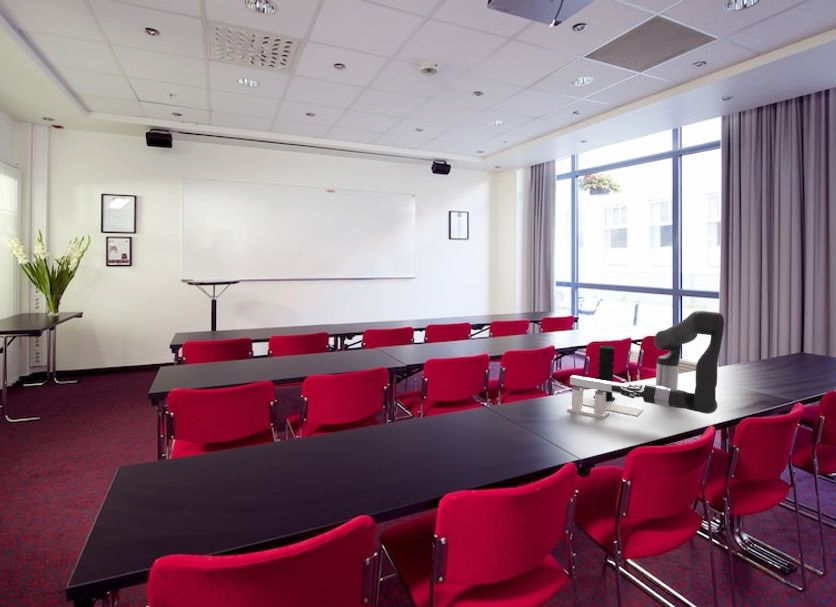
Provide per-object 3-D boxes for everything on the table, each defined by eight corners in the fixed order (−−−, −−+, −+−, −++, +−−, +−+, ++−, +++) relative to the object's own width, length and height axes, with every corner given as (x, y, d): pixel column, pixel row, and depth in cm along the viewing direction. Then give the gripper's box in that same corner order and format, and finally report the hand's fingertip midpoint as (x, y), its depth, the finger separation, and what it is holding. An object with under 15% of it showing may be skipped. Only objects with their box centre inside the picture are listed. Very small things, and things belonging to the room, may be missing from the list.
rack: (573, 406, 208) (574, 383, 207) (609, 414, 198) (610, 389, 197) (567, 410, 203) (568, 386, 202) (604, 419, 193) (605, 393, 192)
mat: (581, 398, 222) (581, 397, 222) (643, 410, 204) (643, 409, 204) (573, 403, 214) (573, 402, 214) (637, 416, 196) (637, 415, 196)
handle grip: (618, 401, 216) (611, 395, 226) (621, 347, 213) (614, 343, 223) (597, 401, 217) (591, 394, 227) (599, 346, 214) (593, 342, 224)
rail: (569, 384, 203) (570, 376, 203) (572, 382, 206) (573, 375, 206) (626, 394, 188) (626, 386, 188) (628, 392, 191) (629, 384, 190)
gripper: (662, 382, 187) (618, 375, 198) (654, 390, 176) (608, 382, 187) (661, 399, 188) (617, 391, 199) (653, 408, 177) (607, 399, 188)
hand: (613, 387), depth 193 cm, fingers closed on rail, 3 cm apart
